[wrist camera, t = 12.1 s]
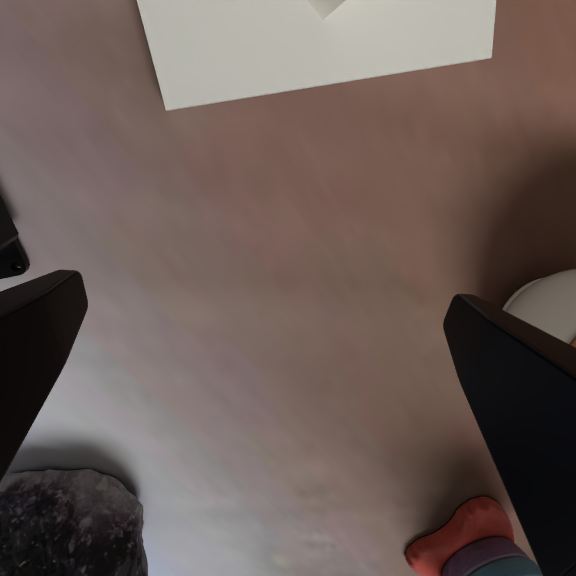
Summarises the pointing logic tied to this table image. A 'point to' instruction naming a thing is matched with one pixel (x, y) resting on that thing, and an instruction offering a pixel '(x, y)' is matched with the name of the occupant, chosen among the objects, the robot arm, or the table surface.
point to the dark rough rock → (69, 525)
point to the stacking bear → (472, 545)
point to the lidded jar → (548, 305)
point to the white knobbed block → (325, 6)
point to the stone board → (303, 43)
